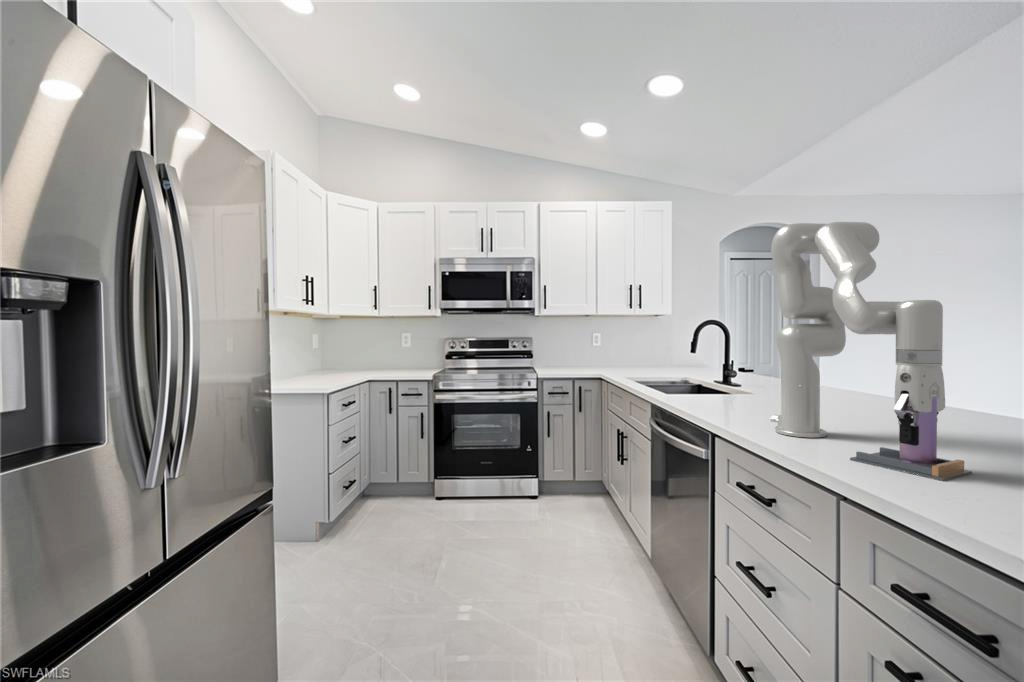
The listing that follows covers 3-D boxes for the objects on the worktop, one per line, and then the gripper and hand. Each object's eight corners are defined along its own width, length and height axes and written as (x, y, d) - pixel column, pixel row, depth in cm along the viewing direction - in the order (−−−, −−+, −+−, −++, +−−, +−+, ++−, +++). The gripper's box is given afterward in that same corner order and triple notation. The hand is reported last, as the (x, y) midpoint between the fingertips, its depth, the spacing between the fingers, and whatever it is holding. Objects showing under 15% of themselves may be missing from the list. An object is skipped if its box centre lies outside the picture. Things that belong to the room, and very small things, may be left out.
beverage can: (944, 467, 96) (944, 395, 96) (912, 466, 97) (912, 394, 97) (922, 459, 102) (923, 391, 102) (892, 458, 103) (893, 391, 102)
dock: (850, 459, 107) (850, 449, 107) (878, 454, 111) (878, 443, 111) (943, 481, 91) (943, 468, 91) (971, 473, 96) (971, 461, 95)
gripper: (916, 360, 92) (916, 451, 92) (962, 357, 99) (961, 442, 99) (874, 358, 99) (874, 443, 99) (919, 356, 106) (919, 435, 106)
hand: (917, 441), depth 99 cm, fingers closed on beverage can, 5 cm apart
